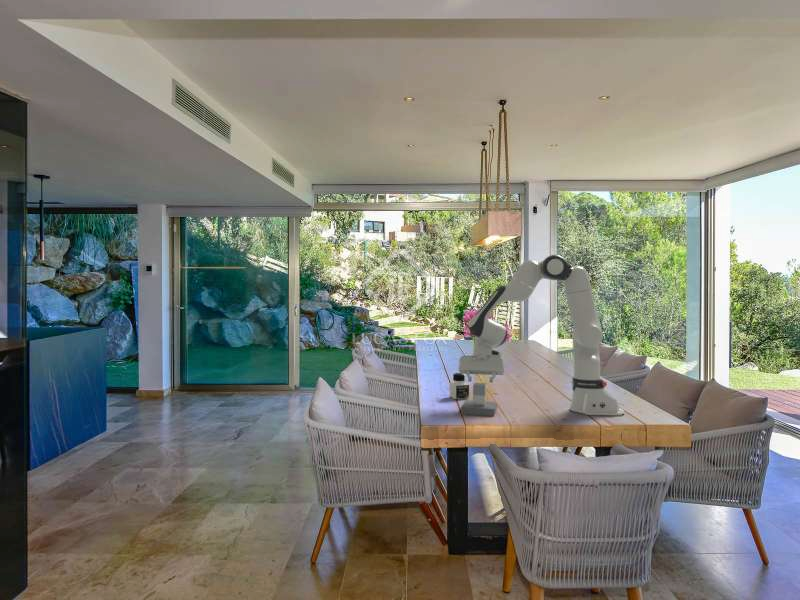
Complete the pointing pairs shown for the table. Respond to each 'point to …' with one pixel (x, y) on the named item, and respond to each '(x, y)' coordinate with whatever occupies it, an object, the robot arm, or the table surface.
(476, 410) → the charcoal stand
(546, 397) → the table surface
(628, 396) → the table surface
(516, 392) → the table surface
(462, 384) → the medicine bottle
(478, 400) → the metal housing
